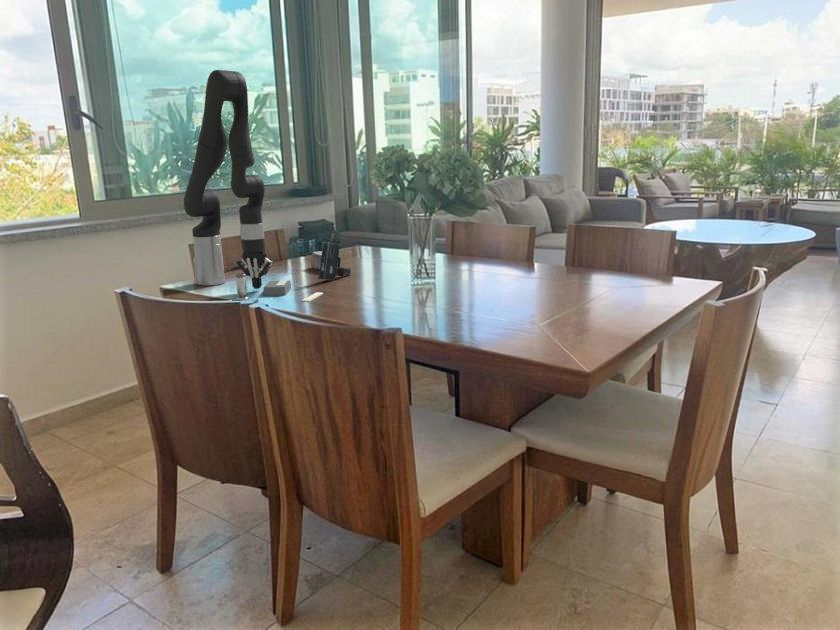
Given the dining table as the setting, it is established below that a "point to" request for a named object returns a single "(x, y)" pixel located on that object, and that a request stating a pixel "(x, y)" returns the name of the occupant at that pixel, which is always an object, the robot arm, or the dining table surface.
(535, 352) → the dining table surface
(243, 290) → the grey beige cylinder
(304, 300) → the cream flat strip
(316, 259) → the decorative stone
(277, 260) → the dining table surface
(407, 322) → the dining table surface
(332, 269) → the gun
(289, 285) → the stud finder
